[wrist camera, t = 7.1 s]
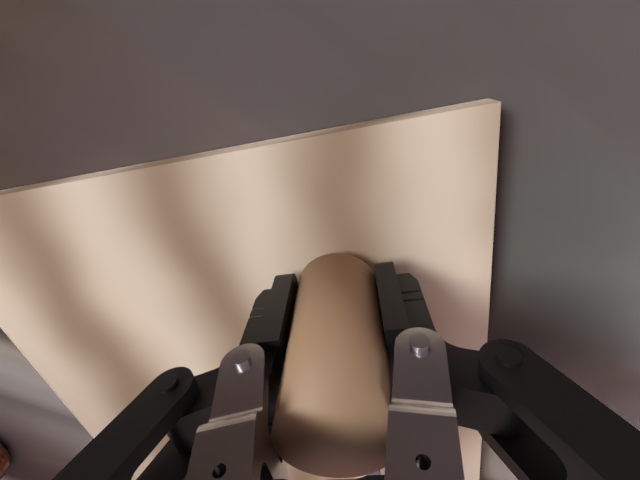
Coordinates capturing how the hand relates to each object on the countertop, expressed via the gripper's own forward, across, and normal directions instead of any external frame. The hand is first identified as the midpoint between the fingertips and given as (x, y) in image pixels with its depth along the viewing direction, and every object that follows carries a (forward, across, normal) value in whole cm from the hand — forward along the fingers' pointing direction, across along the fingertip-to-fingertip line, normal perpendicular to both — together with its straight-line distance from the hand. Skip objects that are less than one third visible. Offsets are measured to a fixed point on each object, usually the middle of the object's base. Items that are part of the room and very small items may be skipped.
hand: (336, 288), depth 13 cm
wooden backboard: (+2, +5, +14) cm, 15 cm away
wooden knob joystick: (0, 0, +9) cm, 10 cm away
